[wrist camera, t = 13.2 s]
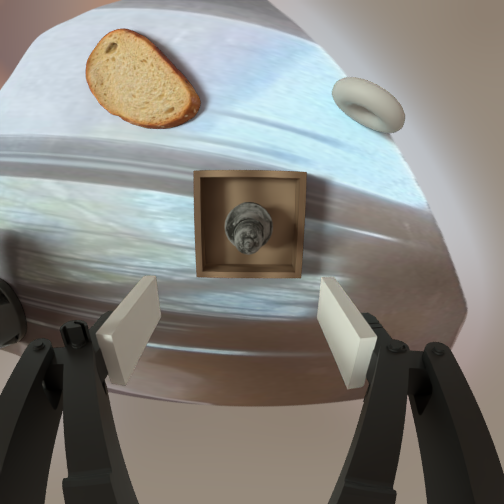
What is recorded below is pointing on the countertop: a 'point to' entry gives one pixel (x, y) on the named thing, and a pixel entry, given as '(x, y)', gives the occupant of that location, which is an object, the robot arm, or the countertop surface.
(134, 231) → the countertop surface
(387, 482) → the robot arm
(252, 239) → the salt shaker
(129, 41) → the slice of bread
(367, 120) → the donut
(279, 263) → the box
